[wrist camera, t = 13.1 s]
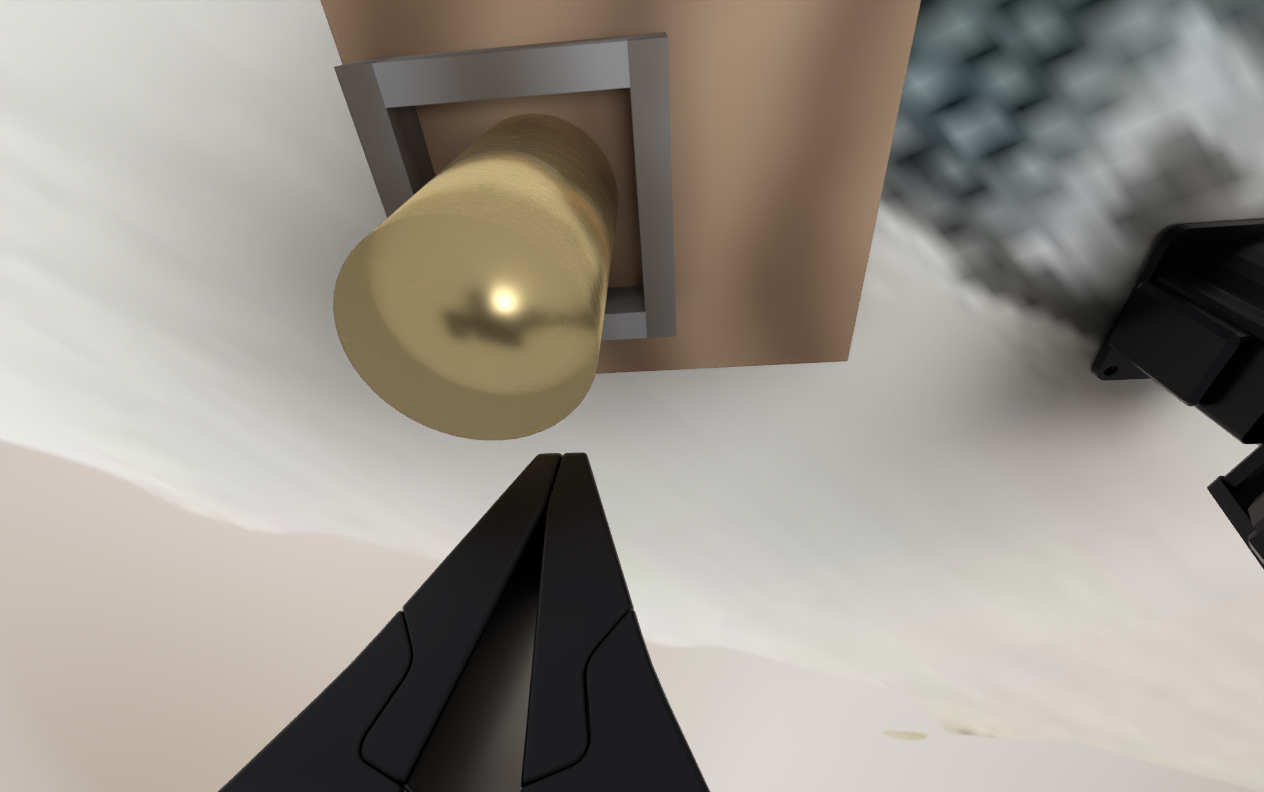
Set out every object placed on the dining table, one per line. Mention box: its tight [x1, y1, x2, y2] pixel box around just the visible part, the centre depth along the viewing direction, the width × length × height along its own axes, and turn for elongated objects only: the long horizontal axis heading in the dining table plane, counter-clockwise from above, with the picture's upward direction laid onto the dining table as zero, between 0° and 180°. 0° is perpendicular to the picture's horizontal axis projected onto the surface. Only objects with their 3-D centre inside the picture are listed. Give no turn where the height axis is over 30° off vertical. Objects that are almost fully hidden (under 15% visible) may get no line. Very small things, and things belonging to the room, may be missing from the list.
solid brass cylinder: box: [333, 113, 618, 440], centre depth 14 cm, size 5×5×9 cm
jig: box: [321, 0, 921, 373], centre depth 17 cm, size 16×14×4 cm
